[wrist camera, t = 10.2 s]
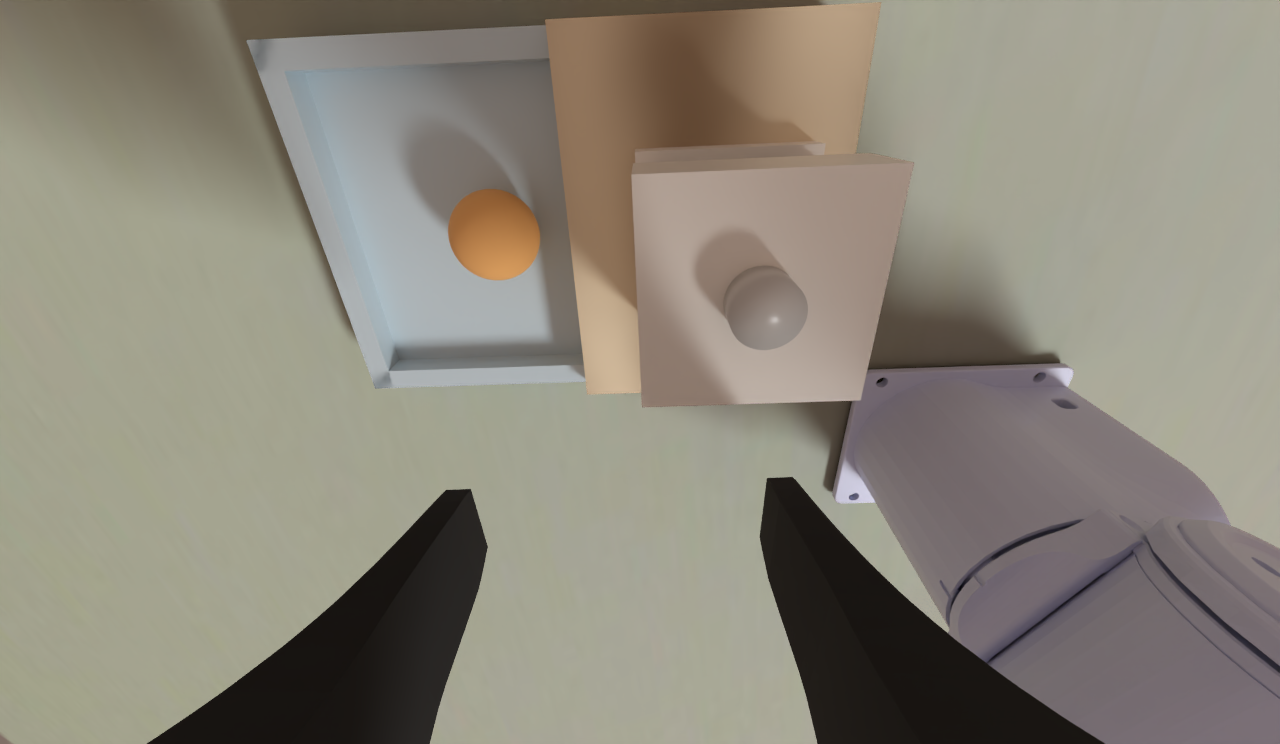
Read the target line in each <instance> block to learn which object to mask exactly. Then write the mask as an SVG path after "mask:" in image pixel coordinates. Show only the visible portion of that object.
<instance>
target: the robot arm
mask: <svg viewBox="0 0 1280 744" xmlns="http://www.w3.org/2000/svg"><path fill="white" fill-rule="evenodd" d="M1038 373H1039V374H1038ZM1073 373H1074V371H1073V369H1072V368H1071V367H1069V366H1067V365H1066V364H1062V363H1055V364H1024V365H994V366H963V367H932V368H902V369H871V370H867V374H866V379H865V383H864V387H863V392H862V396H861V400H857V401H852V404H851V409H850V414H849V418H848V423H847V427H846V432H845V437H844V441H843V446H842V451H841V455H840V460H839V464H838V469H837V474H836V478H835V483H834V488H833V492H832V494H833V497H834V499H835V501H836V502H838V503H876V504H877V506H878V508H879V509H880V511H881V513H882V514H883V516H884V518H885V520H886V521H887V523H888V525H889V526H890V528H891V530H892V532H893V533H894V535H895V537H896V538H897V540H898V542H899V543H900V545H901V547H902V549H903V550H904V552H905V554H906V555H907V557H908V559H909V561H910V562H911V564H912V566H913V567H914V569H915V571H916V573H917V574H918V576H919V578H920V579H921V581H922V583H923V584H924V586H925V588H926V590H927V591H928V593H929V595H930V596H931V598H932V600H933V602H934V603H935V605H936V607H937V608H938V610H939V612H940V613H941V615H942V617H943V619H944V620H945V622H946V624H947V625H948V627H949V632H948V633H947V632H946V631H944V630H943V629H942V628H941V627H939V626H938V625H937V624H936V623H935V622H933V621H932V620H931V619H930V618H929V617H928V616H926V615H925V614H924V613H923V612H922V611H921V610H919V609H918V608H917V607H916V606H915V605H914V604H913V603H911V602H910V601H909V600H908V599H907V598H906V597H905V596H904V595H903V594H901V593H900V592H899V591H898V590H897V589H896V588H895V587H894V586H893V585H892V584H891V583H890V582H889V581H888V580H887V579H886V578H885V577H884V576H883V575H881V574H880V573H879V572H878V571H877V570H876V569H875V568H874V567H873V566H872V565H871V564H870V563H869V562H868V561H867V560H866V559H865V558H864V557H863V556H862V555H861V554H860V552H859V551H858V550H857V549H856V548H855V547H854V546H853V545H852V544H851V543H850V542H849V541H848V540H847V539H846V538H845V536H844V535H843V534H842V533H841V532H840V531H839V530H838V529H837V528H836V527H835V526H834V524H833V523H832V522H831V521H830V520H829V519H828V518H827V517H826V515H825V514H824V513H823V512H822V511H821V510H820V508H819V507H818V506H817V505H816V504H815V503H814V501H813V500H812V499H811V498H810V497H809V495H808V494H807V493H806V492H805V491H804V489H803V488H802V487H801V486H800V485H799V483H798V482H797V481H796V480H795V479H794V478H793V477H785V478H767V483H766V491H765V499H764V507H763V515H762V523H761V531H760V541H761V546H762V551H763V556H764V561H765V565H766V570H767V574H768V579H769V582H770V585H771V588H772V591H773V594H774V597H775V600H776V603H777V607H778V610H779V613H780V616H781V619H782V622H783V625H784V628H785V631H786V634H787V637H788V640H789V643H790V646H791V649H792V652H793V655H794V658H795V661H796V664H797V667H798V670H799V673H800V676H801V680H802V683H803V686H804V690H805V693H806V697H807V701H808V705H809V709H810V714H811V718H812V722H813V726H814V730H815V735H816V739H817V743H818V744H1280V549H1279V548H1277V547H1275V546H1274V545H1272V544H1270V543H1268V542H1266V541H1264V540H1262V539H1260V538H1258V537H1255V536H1253V535H1251V534H1249V533H1247V532H1245V531H1242V530H1240V529H1238V528H1235V527H1233V526H1231V525H1230V523H1229V520H1228V518H1227V516H1226V514H1225V512H1224V510H1223V508H1222V507H1221V505H1220V503H1219V502H1218V500H1217V499H1216V497H1215V496H1214V494H1213V493H1212V492H1211V491H1210V489H1209V488H1208V487H1207V486H1206V485H1205V483H1204V482H1203V481H1202V480H1201V479H1200V478H1199V477H1198V476H1196V475H1195V474H1194V473H1193V472H1192V471H1191V470H1189V469H1188V468H1187V467H1186V466H1184V465H1183V464H1181V463H1180V462H1178V461H1177V460H1175V459H1174V458H1172V457H1171V456H1169V455H1168V454H1166V453H1165V452H1163V451H1162V450H1160V449H1159V448H1157V447H1156V446H1154V445H1153V444H1151V443H1150V442H1148V441H1147V440H1145V439H1144V438H1142V437H1141V436H1139V435H1138V434H1136V433H1135V432H1133V431H1132V430H1130V429H1129V428H1127V427H1126V426H1124V425H1123V424H1121V423H1120V422H1118V421H1117V420H1115V419H1114V418H1112V417H1111V416H1109V415H1108V414H1106V413H1105V412H1103V411H1102V410H1100V409H1099V408H1097V407H1096V406H1094V405H1093V404H1091V403H1090V402H1088V401H1087V400H1085V399H1084V398H1082V397H1081V396H1079V395H1078V394H1076V393H1075V392H1073V391H1072V390H1070V389H1069V388H1067V387H1068V385H1069V383H1070V381H1071V379H1072V377H1073ZM1036 374H1038V375H1037V376H1036V377H1034V376H1035V375H1036ZM883 377H884V379H883V381H882V382H880V383H876V382H877V380H879V379H880V378H883ZM853 493H854V494H853ZM851 494H853V495H851ZM487 548H488V546H487V543H486V539H485V536H484V533H483V529H482V526H481V522H480V519H479V516H478V512H477V509H476V505H475V502H474V499H473V495H472V492H471V489H462V490H446V491H445V492H444V493H443V494H442V495H441V496H440V497H439V498H438V499H437V500H436V501H435V502H434V503H433V504H432V505H431V506H430V507H429V508H428V509H427V510H426V511H425V513H424V514H423V515H422V516H421V517H420V518H419V519H418V520H417V521H416V522H415V523H414V524H413V525H412V526H411V527H410V529H409V530H408V531H407V532H406V533H405V534H404V535H403V536H402V537H401V538H400V539H399V540H398V541H397V542H396V543H395V544H394V545H393V546H392V547H391V548H390V549H389V550H388V551H387V552H386V553H385V554H384V555H383V556H382V558H381V559H380V560H379V561H378V562H377V563H376V564H375V565H374V566H373V567H372V568H371V569H370V570H369V571H367V572H366V573H365V574H364V575H363V576H362V577H361V578H360V579H359V580H358V581H357V582H356V583H355V584H354V585H353V586H352V587H351V588H350V589H349V590H348V591H347V592H345V593H344V594H343V595H342V596H341V597H340V598H339V599H338V600H337V601H336V602H335V603H334V604H332V605H331V606H330V607H329V608H328V609H327V610H326V611H325V612H323V613H322V614H321V615H320V616H319V617H318V618H317V619H315V620H314V621H313V622H312V623H311V624H309V625H308V626H307V627H306V628H305V629H303V630H302V631H301V632H300V633H299V634H297V635H296V636H295V637H294V638H293V639H291V640H290V641H289V642H288V643H286V644H285V645H284V646H283V647H282V648H280V649H279V650H278V651H276V652H275V653H274V654H272V655H271V656H270V657H268V658H267V659H266V660H264V661H263V662H262V663H261V664H259V665H258V666H257V667H255V668H254V669H253V670H251V671H250V672H249V673H247V674H246V675H245V676H243V677H242V678H241V679H239V680H238V681H237V682H235V683H234V684H233V685H231V686H230V687H229V688H227V689H226V690H225V691H223V692H222V693H221V694H219V695H218V696H216V697H215V698H213V699H212V700H211V701H209V702H208V703H206V704H205V705H203V706H202V707H201V708H199V709H198V710H196V711H195V712H193V713H192V714H191V715H189V716H188V717H186V718H185V719H183V720H182V721H180V722H179V723H177V724H176V725H174V726H173V727H171V728H170V729H168V730H167V731H165V732H164V733H162V734H161V735H159V736H158V737H156V738H155V739H153V740H152V741H150V742H149V743H147V744H430V740H431V736H432V732H433V728H434V724H435V720H436V716H437V712H438V708H439V705H440V701H441V698H442V695H443V692H444V688H445V685H446V682H447V679H448V677H449V674H450V671H451V668H452V665H453V662H454V659H455V656H456V653H457V651H458V648H459V645H460V642H461V639H462V636H463V633H464V630H465V628H466V625H467V622H468V619H469V616H470V613H471V610H472V607H473V604H474V601H475V598H476V595H477V592H478V589H479V585H480V581H481V576H482V572H483V567H484V563H485V558H486V553H487Z"/></svg>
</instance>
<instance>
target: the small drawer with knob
mask: <svg viewBox="0 0 1280 744" xmlns="http://www.w3.org/2000/svg"><path fill="white" fill-rule="evenodd" d="M825 145H826V143H821V142H817V141H803V142H781V143H758V144H735V145H713V146H690V147H667V148H644V149H635V163H633V167H632V173H631V179H632V201H633V222H634V244H635V266H636V288H637V310H638V332H639V353H640V375H641V397H642V407H666V406H698V405H729V404H761V403H793V402H825V401H857V400H861V396H862V392H863V387H864V383H865V379H866V374H867V370H868V365H869V361H870V356H871V352H872V348H873V343H874V339H875V334H876V330H877V325H878V321H879V317H880V312H881V308H882V303H883V299H884V294H885V290H886V286H887V281H888V277H889V272H890V268H891V264H892V259H893V255H894V250H895V246H896V241H897V237H898V233H899V228H900V224H901V219H902V215H903V210H904V206H905V202H906V197H907V193H908V188H909V184H910V179H911V175H912V171H913V166H914V162H910V161H905V160H901V159H896V158H891V157H887V156H882V155H877V154H873V153H858V154H835V155H824V152H825Z"/></svg>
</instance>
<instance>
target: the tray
mask: <svg viewBox="0 0 1280 744" xmlns="http://www.w3.org/2000/svg"><path fill="white" fill-rule="evenodd" d="M246 41H247V44H248V47H249V49H250V52H251V55H252V57H253V60H254V63H255V65H256V68H257V71H258V74H259V76H260V79H261V82H262V84H263V87H264V90H265V92H266V95H267V98H268V101H269V103H270V106H271V109H272V111H273V114H274V117H275V119H276V122H277V125H278V127H279V130H280V133H281V136H282V138H283V141H284V144H285V146H286V149H287V152H288V154H289V157H290V160H291V163H292V165H293V168H294V171H295V173H296V176H297V179H298V181H299V184H300V187H301V189H302V192H303V195H304V198H305V200H306V203H307V206H308V208H309V211H310V214H311V216H312V219H313V222H314V225H315V227H316V230H317V233H318V235H319V238H320V241H321V243H322V246H323V249H324V251H325V254H326V257H327V260H328V262H329V265H330V268H331V270H332V273H333V276H334V278H335V281H336V284H337V287H338V289H339V292H340V295H341V297H342V300H343V303H344V305H345V308H346V311H347V313H348V316H349V319H350V322H351V324H352V327H353V330H354V332H355V335H356V338H357V340H358V343H359V346H360V349H361V351H362V354H363V357H364V359H365V362H366V365H367V367H368V370H369V373H370V375H371V378H372V381H373V384H374V386H375V388H406V387H436V386H467V385H498V384H528V383H559V382H586V379H585V370H584V361H583V353H582V344H581V335H580V326H579V317H578V308H577V299H576V290H575V281H574V273H573V264H572V255H571V246H570V237H569V228H568V219H567V210H566V201H565V193H564V184H563V175H562V166H561V157H560V148H559V139H558V130H557V121H556V113H555V104H554V95H553V86H552V77H551V68H550V59H549V50H548V41H547V33H546V25H535V26H516V27H496V28H476V29H456V30H436V31H416V32H396V33H376V34H356V35H336V36H317V37H297V38H277V39H257V40H246ZM483 189H498V190H503V191H506V192H509V193H511V194H513V195H515V196H517V197H518V198H519V199H521V200H522V201H523V202H524V203H525V204H526V205H527V206H528V207H529V208H530V210H531V211H532V212H533V214H534V216H535V218H536V220H537V223H538V226H539V231H540V246H539V250H538V253H537V256H536V258H535V260H534V261H533V263H532V264H531V266H530V267H529V268H528V269H527V270H525V271H524V272H523V273H522V274H520V275H518V276H516V277H514V278H511V279H507V280H489V279H485V278H481V277H479V276H477V275H475V274H473V273H472V272H470V271H469V270H467V269H466V268H465V267H464V266H463V265H462V264H461V263H460V262H459V261H458V259H457V258H456V256H455V255H454V253H453V251H452V249H451V246H450V242H449V237H448V225H449V220H450V216H451V214H452V212H453V210H454V208H455V207H456V205H457V204H458V203H459V202H460V201H461V200H462V199H463V198H464V197H465V196H467V195H469V194H471V193H472V192H475V191H478V190H483Z"/></svg>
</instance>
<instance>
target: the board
mask: <svg viewBox="0 0 1280 744" xmlns="http://www.w3.org/2000/svg"><path fill="white" fill-rule="evenodd" d="M880 7H881V2H878V3H858V4H838V5H818V6H799V7H779V8H759V9H739V10H720V11H700V12H680V13H660V14H640V15H621V16H601V17H581V18H561V19H545V24H546V33H547V41H548V50H549V59H550V68H551V77H552V86H553V95H554V104H555V113H556V121H557V130H558V139H559V148H560V157H561V166H562V175H563V184H564V193H565V201H566V210H567V219H568V228H569V237H570V246H571V255H572V264H573V273H574V281H575V290H576V299H577V308H578V317H579V326H580V335H581V344H582V353H583V361H584V370H585V379H586V388H587V394H615V393H641V375H640V353H639V332H638V310H637V288H636V266H635V244H634V222H633V201H632V179H631V173H632V167H633V163H635V149H644V148H667V147H690V146H713V145H735V144H758V143H781V142H803V141H817V142H821V143H826V145H825V152H824V155H835V154H856V149H857V143H858V137H859V131H860V125H861V119H862V113H863V108H864V102H865V96H866V90H867V84H868V78H869V72H870V66H871V60H872V54H873V48H874V42H875V36H876V30H877V24H878V19H879V13H880Z"/></svg>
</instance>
